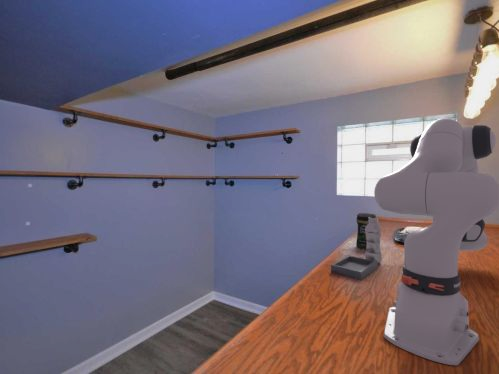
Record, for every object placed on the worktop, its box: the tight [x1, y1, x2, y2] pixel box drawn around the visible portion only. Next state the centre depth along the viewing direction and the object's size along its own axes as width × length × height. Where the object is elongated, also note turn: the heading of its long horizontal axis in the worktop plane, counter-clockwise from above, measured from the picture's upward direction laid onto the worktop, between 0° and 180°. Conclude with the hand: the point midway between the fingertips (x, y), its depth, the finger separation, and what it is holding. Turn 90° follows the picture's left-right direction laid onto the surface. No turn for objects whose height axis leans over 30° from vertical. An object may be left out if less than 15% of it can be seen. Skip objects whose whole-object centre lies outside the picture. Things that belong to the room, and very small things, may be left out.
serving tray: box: [330, 254, 378, 281], centre depth 104 cm, size 17×12×3 cm
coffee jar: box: [355, 212, 377, 250], centre depth 136 cm, size 10×8×19 cm
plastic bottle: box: [364, 216, 383, 264], centre depth 112 cm, size 6×7×20 cm
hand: (402, 238), depth 110 cm, fingers open, 8 cm apart
